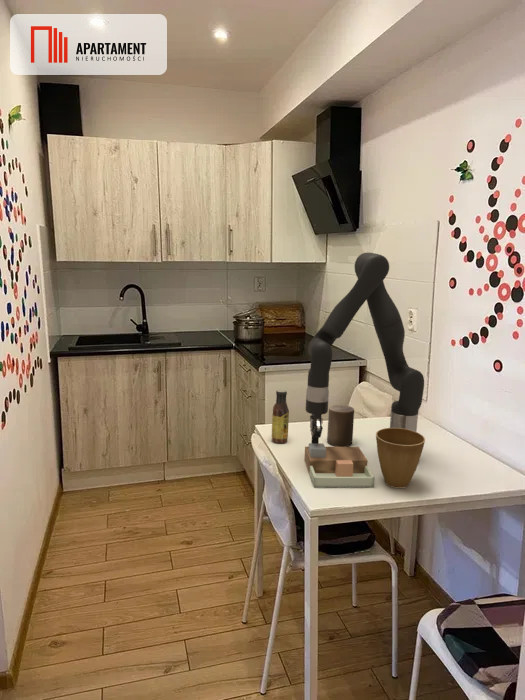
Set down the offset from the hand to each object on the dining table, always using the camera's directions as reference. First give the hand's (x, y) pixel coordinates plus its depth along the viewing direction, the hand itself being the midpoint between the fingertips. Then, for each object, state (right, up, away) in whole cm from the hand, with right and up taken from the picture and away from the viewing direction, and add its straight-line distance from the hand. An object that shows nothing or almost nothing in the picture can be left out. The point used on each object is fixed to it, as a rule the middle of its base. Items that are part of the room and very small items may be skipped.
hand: (314, 446), depth 176 cm
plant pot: (+25, -10, -12) cm, 29 cm away
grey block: (0, -2, -4) cm, 4 cm away
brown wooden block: (+7, -7, -1) cm, 9 cm away
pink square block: (+8, -5, -9) cm, 13 cm away
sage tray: (+7, -9, -12) cm, 16 cm away
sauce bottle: (-11, -2, +21) cm, 24 cm away
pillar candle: (+12, -3, +22) cm, 25 cm away
